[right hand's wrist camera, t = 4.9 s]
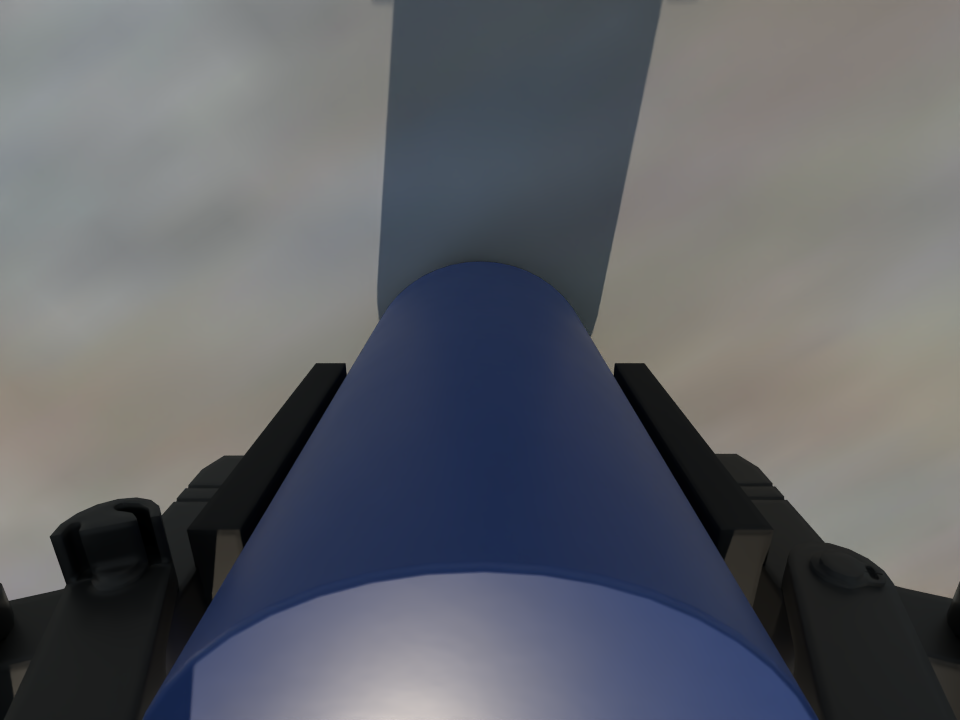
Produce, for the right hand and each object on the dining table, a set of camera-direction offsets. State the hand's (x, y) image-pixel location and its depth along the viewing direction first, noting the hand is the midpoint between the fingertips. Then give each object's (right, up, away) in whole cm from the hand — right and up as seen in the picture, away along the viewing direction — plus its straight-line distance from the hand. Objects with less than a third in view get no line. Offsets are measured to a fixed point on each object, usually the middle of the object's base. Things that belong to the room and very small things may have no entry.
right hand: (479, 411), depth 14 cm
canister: (0, +1, +3) cm, 3 cm away
